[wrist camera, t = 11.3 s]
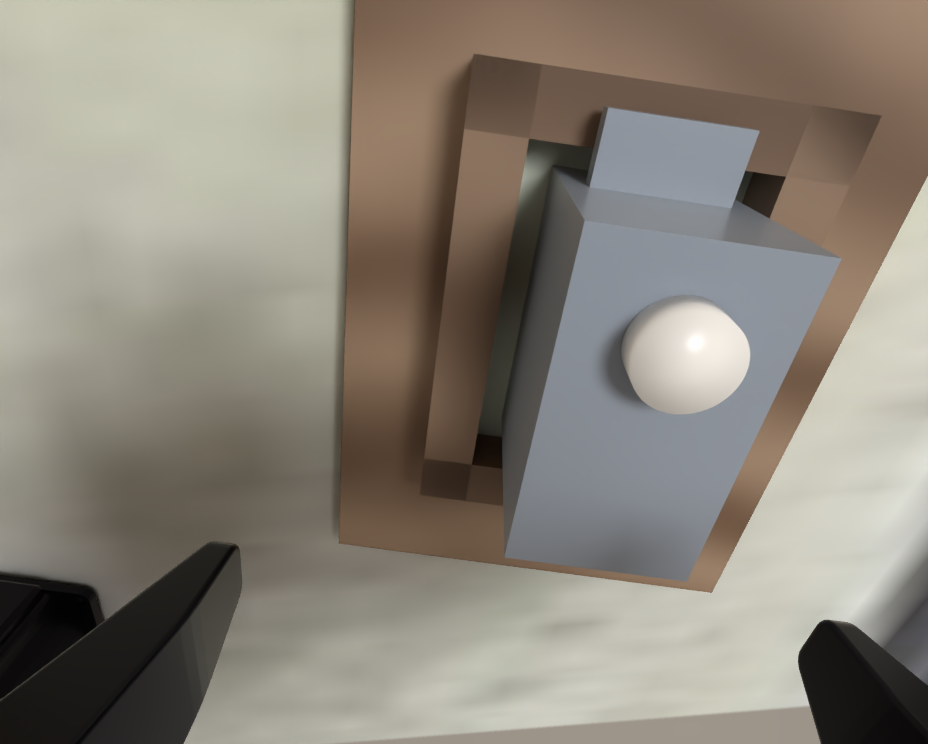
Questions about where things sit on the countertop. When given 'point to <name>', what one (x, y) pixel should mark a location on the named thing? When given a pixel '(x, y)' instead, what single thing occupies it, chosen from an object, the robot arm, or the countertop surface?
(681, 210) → the block
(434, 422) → the brown wooden board
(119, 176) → the countertop surface
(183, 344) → the countertop surface
